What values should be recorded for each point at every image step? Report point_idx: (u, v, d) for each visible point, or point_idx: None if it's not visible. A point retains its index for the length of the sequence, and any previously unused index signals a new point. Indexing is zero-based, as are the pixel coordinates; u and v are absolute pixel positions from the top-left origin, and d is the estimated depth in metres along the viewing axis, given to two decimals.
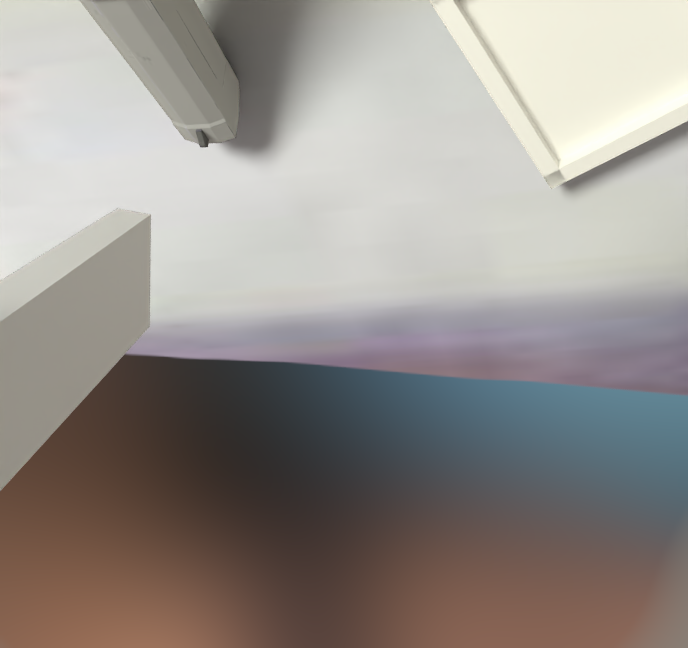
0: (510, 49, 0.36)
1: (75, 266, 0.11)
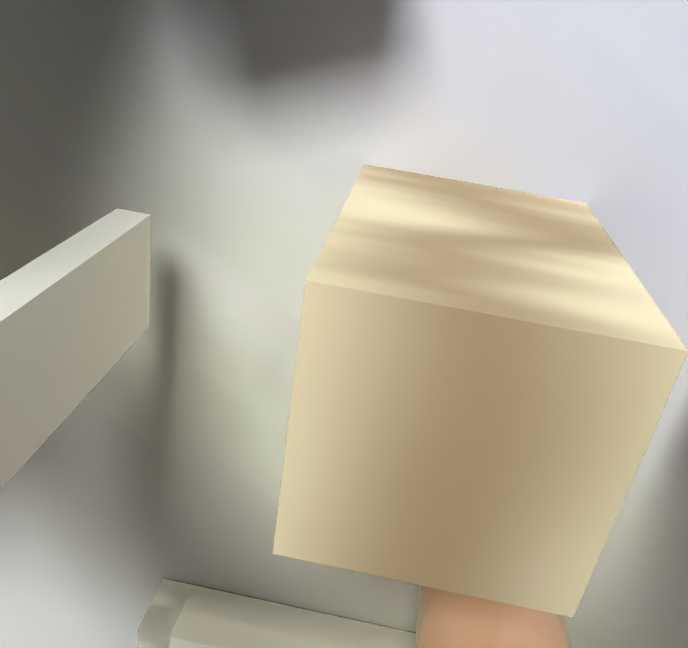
0: None
1: (75, 266, 0.11)
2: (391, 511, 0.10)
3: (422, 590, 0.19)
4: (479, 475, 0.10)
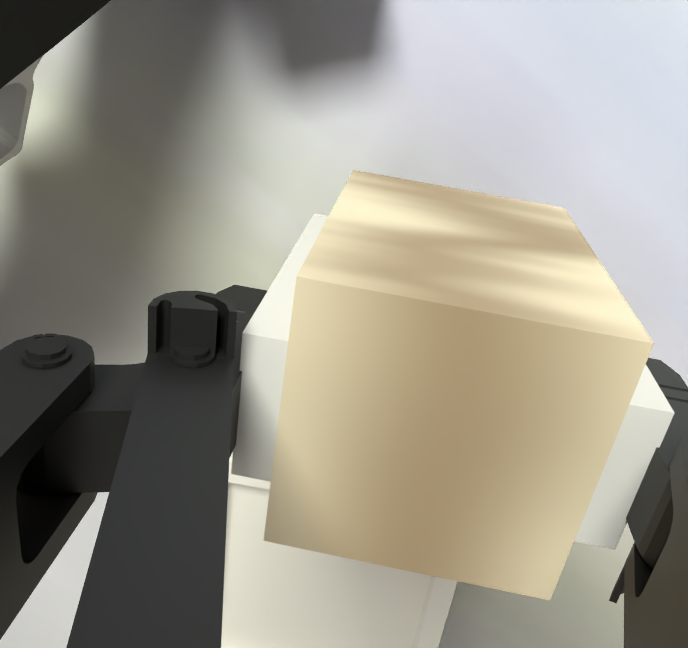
0: (243, 545, 0.32)
1: None
2: (377, 498, 0.11)
3: None
4: (461, 462, 0.10)
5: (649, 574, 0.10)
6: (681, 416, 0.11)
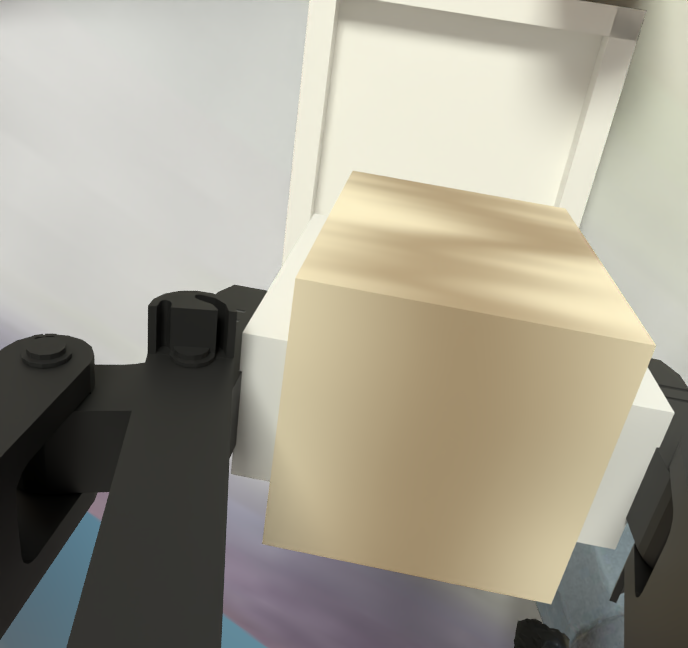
0: (348, 118, 0.27)
1: None
2: (377, 501, 0.11)
3: None
4: (461, 465, 0.10)
5: (649, 574, 0.10)
6: (681, 416, 0.11)
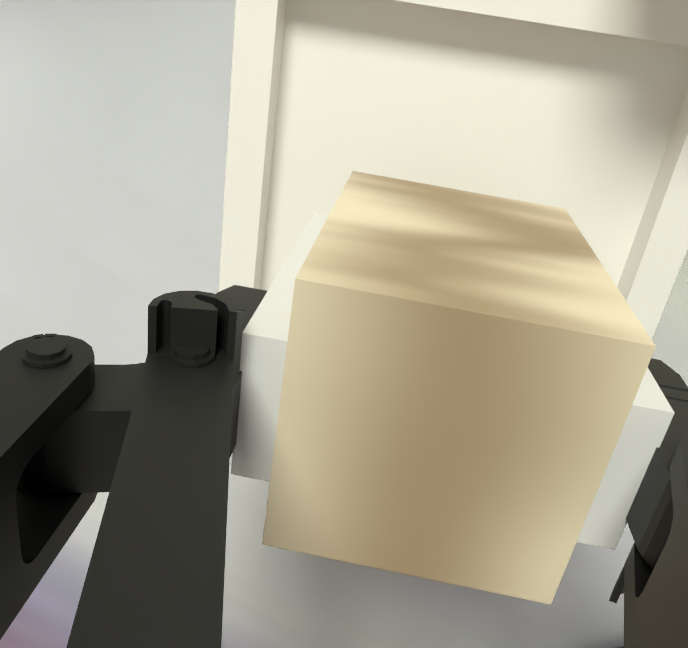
0: (305, 171, 0.18)
1: None
2: (376, 502, 0.11)
3: None
4: (461, 466, 0.10)
5: (649, 574, 0.10)
6: (681, 416, 0.11)
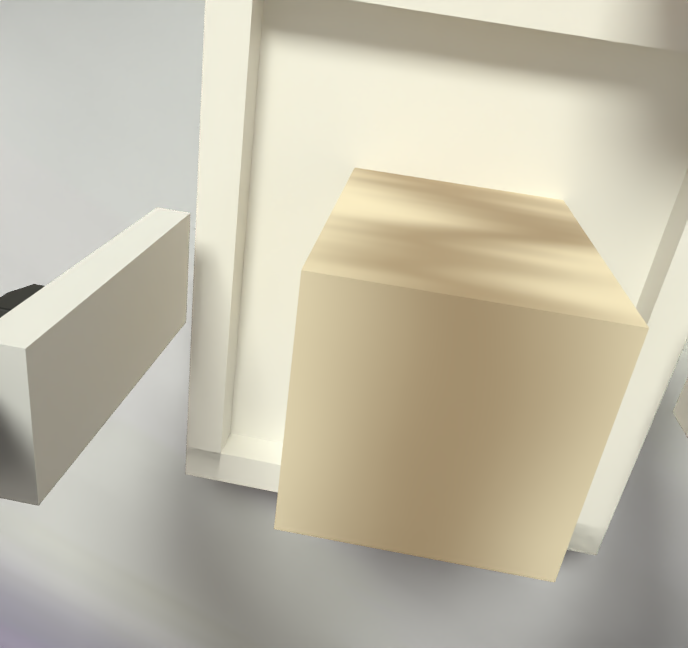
0: (287, 193, 0.16)
1: (127, 262, 0.12)
2: (384, 485, 0.11)
3: None
4: (464, 449, 0.11)
5: None
6: None
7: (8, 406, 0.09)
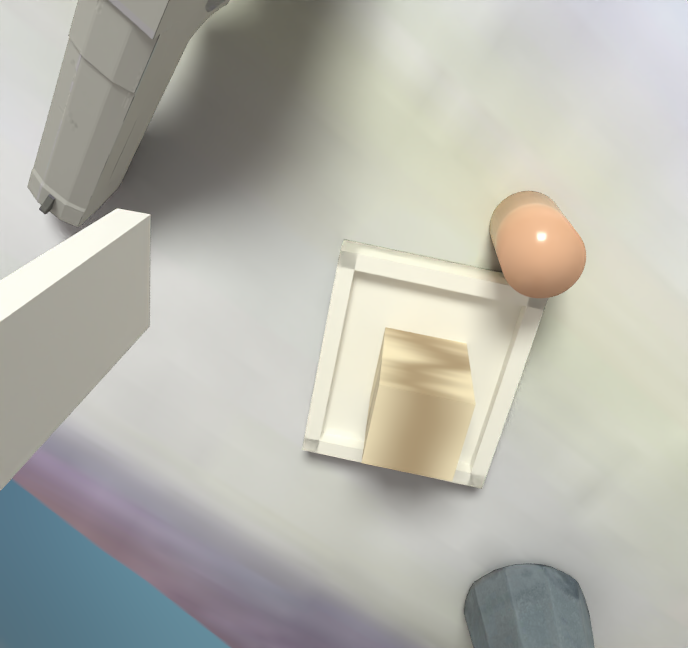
0: (357, 335, 0.40)
1: (75, 266, 0.11)
2: (398, 448, 0.35)
3: (495, 219, 0.36)
4: (424, 437, 0.35)
5: None
6: None
7: None
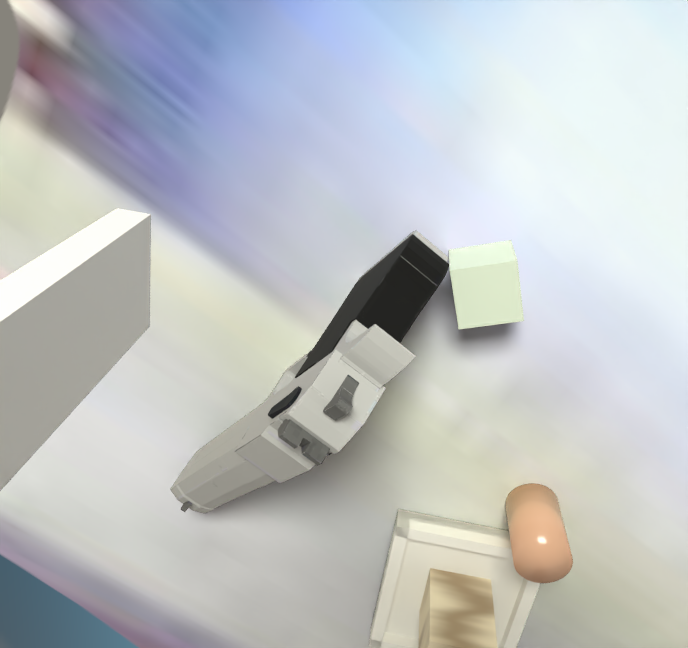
0: (409, 572, 0.55)
1: (75, 266, 0.11)
2: None
3: (509, 507, 0.50)
4: None
5: None
6: None
7: None
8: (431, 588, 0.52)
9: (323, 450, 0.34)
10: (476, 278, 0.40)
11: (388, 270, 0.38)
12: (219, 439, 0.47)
